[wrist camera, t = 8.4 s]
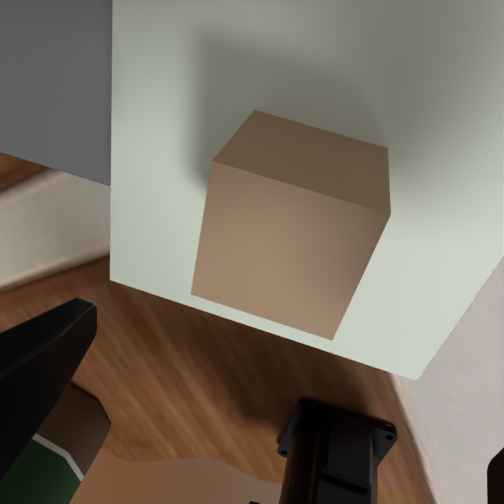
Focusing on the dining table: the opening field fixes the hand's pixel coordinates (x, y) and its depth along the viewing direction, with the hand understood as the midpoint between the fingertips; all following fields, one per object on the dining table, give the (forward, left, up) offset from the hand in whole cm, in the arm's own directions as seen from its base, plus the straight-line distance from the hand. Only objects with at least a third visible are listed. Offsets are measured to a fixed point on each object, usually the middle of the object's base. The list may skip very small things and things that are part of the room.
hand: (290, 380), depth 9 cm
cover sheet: (+1, +1, -7) cm, 7 cm away
